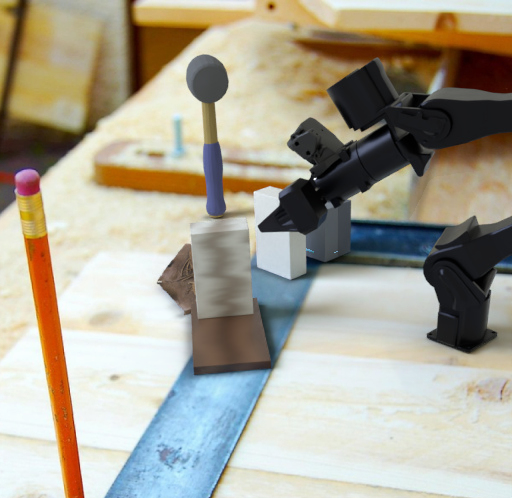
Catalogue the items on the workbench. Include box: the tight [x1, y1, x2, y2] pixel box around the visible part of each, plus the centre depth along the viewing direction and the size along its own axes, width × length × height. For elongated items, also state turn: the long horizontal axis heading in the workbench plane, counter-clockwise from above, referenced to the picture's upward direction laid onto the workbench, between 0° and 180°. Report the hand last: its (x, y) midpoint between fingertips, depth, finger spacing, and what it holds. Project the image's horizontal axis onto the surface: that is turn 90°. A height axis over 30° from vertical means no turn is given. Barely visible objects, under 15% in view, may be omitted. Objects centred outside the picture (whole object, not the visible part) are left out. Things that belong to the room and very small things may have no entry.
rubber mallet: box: [185, 53, 230, 219], centre depth 145 cm, size 12×8×30 cm, turn 2°
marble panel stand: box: [189, 216, 272, 376], centre depth 104 cm, size 10×19×14 cm, turn 179°
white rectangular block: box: [253, 185, 307, 281], centre depth 122 cm, size 8×4×13 cm, turn 35°
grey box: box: [306, 199, 352, 263], centre depth 128 cm, size 6×6×9 cm
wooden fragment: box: [156, 243, 197, 316], centre depth 126 cm, size 26×11×1 cm, turn 175°
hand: (272, 217), depth 105 cm, fingers open, 9 cm apart
